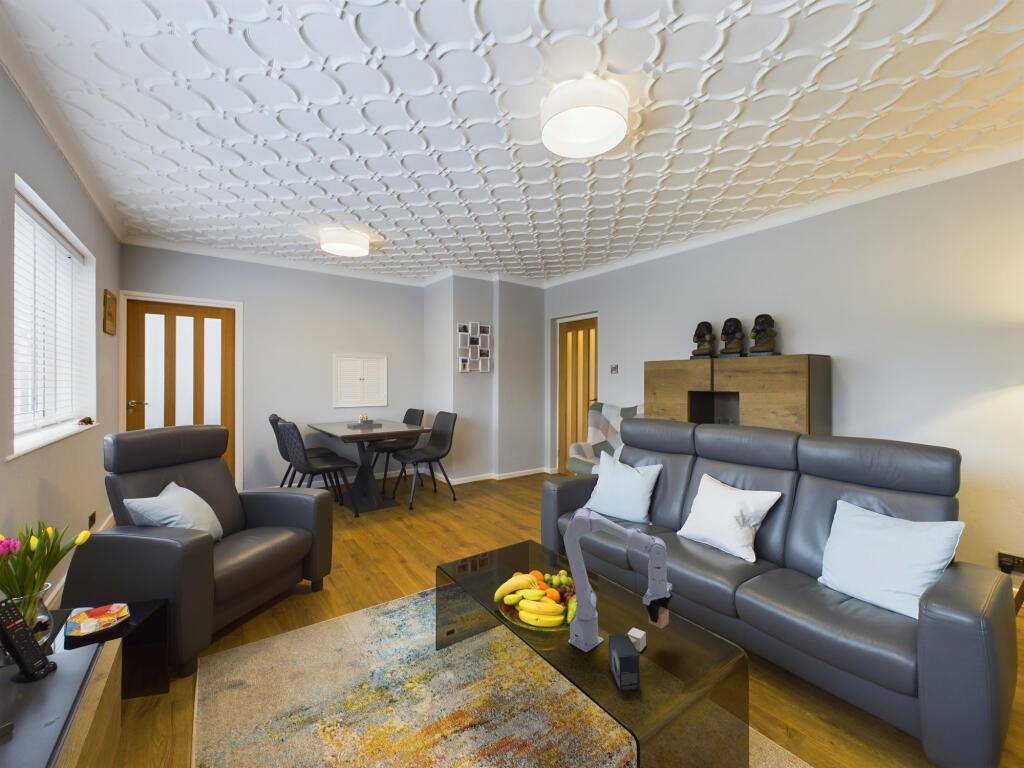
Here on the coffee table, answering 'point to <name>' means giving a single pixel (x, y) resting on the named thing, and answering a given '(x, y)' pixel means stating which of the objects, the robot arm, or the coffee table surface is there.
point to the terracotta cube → (661, 618)
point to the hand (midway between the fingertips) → (658, 618)
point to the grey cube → (638, 638)
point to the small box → (624, 662)
